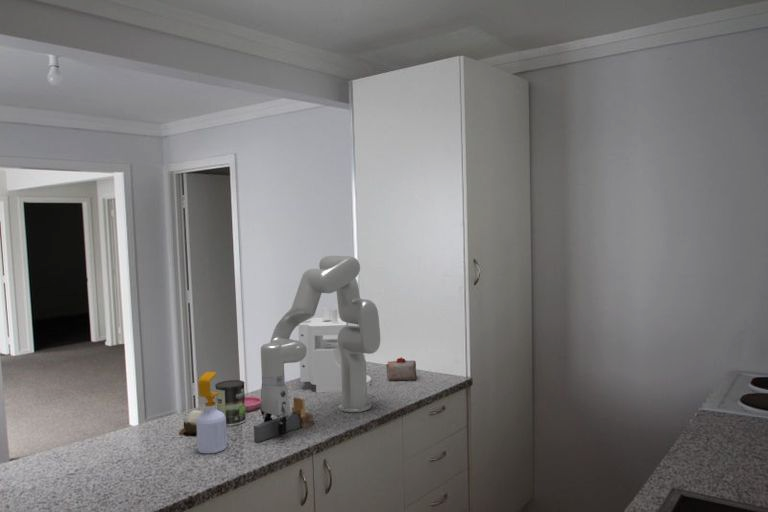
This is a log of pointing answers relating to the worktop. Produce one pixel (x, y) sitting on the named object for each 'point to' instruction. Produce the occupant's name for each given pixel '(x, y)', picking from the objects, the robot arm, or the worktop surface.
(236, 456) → the worktop surface
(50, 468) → the worktop surface
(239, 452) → the worktop surface
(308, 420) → the block
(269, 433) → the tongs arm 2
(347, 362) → the robot arm
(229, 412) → the coffee can
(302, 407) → the tan wooden block
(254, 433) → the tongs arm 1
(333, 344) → the coffee machine
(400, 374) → the food item
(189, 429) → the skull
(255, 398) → the saucer
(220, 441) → the spray bottle
